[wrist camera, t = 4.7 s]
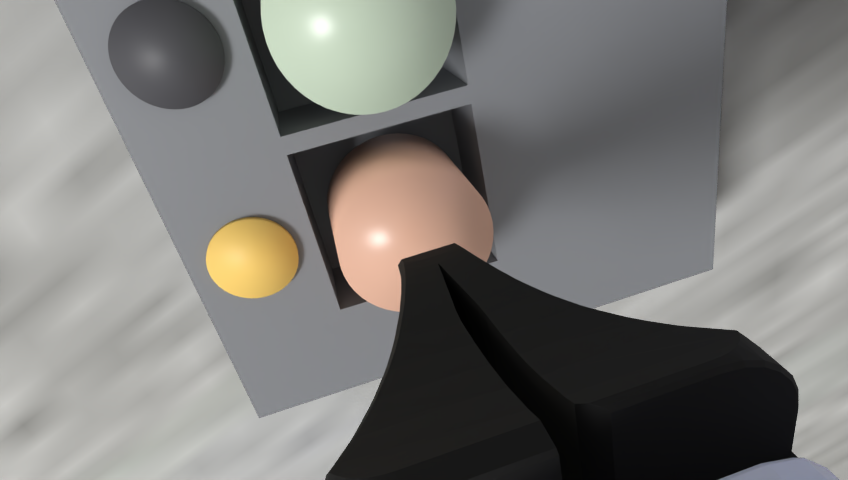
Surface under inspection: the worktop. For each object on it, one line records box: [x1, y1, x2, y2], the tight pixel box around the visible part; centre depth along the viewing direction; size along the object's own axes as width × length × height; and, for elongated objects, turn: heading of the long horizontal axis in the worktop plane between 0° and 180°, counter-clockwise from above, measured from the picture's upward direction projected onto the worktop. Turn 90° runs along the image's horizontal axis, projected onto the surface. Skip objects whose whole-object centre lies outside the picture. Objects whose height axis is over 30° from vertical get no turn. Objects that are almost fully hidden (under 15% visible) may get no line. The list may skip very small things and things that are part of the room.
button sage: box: [261, 0, 456, 115], centre depth 13 cm, size 4×4×3 cm
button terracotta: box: [327, 133, 494, 312], centre depth 16 cm, size 4×4×3 cm
